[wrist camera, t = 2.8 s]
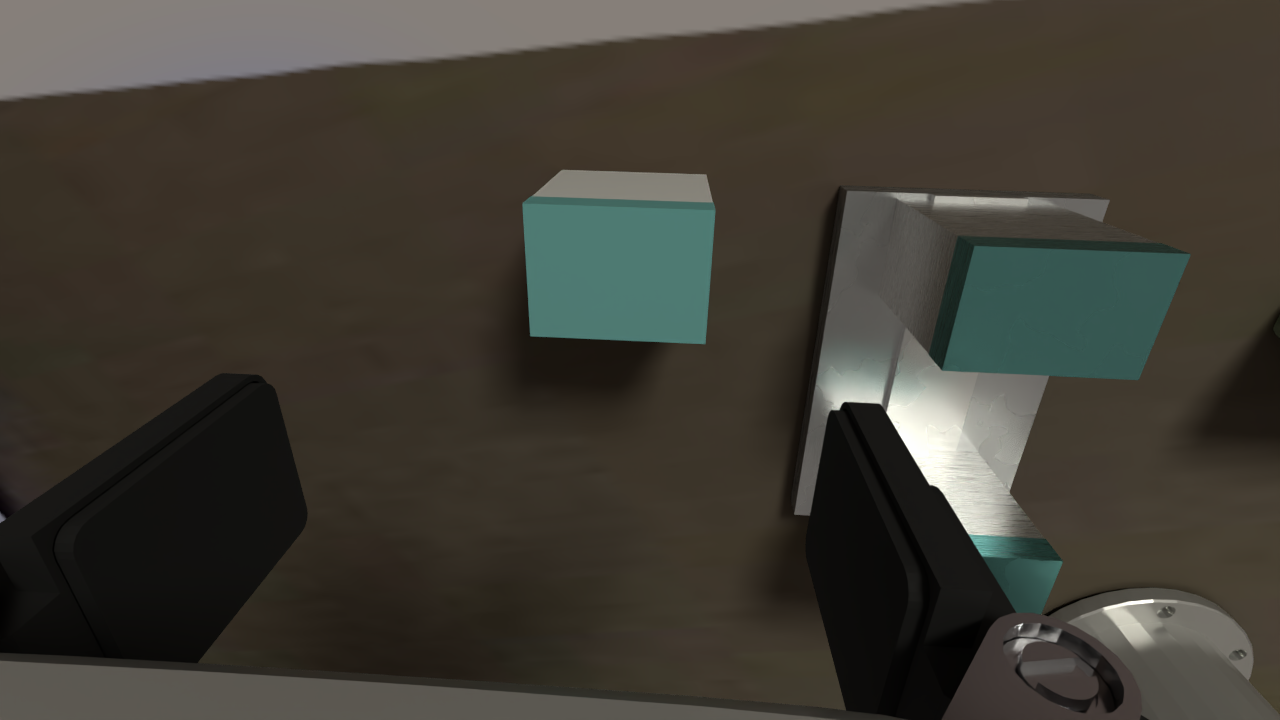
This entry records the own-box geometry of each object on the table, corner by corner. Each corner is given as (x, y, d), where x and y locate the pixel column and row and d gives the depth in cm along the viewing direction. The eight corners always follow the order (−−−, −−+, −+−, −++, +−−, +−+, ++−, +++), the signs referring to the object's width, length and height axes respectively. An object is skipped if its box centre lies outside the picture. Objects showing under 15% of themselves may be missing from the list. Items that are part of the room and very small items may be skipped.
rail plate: (986, 510, 32) (1080, 647, 24) (790, 499, 32) (823, 630, 25) (1091, 194, 25) (1266, 248, 17) (840, 185, 25) (906, 235, 18)
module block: (699, 279, 28) (705, 344, 21) (565, 273, 28) (530, 336, 21) (706, 174, 26) (715, 210, 19) (561, 169, 26) (522, 203, 19)
